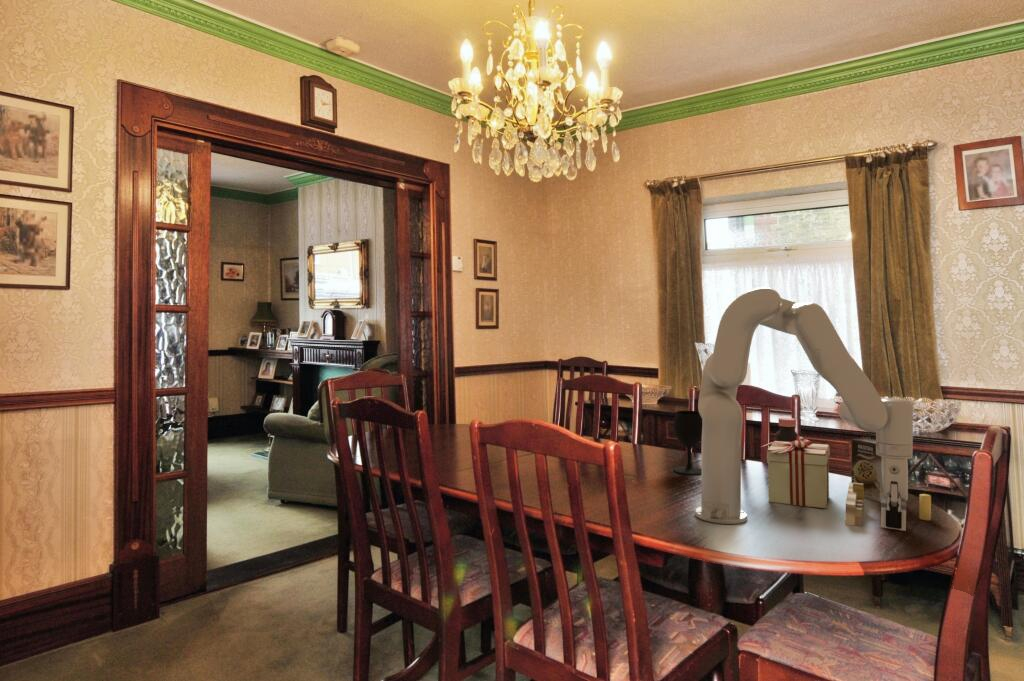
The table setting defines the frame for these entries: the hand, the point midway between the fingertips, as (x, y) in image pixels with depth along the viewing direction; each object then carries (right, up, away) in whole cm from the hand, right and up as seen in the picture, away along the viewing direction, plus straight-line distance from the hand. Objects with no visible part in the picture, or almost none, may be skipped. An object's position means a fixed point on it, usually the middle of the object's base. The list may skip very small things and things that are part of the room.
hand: (893, 523), depth 146 cm
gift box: (-13, -1, +23) cm, 27 cm away
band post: (+12, -1, +6) cm, 13 cm away
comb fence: (-4, -1, +12) cm, 12 cm away
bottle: (-7, 0, +42) cm, 42 cm away
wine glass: (-33, 0, +56) cm, 65 cm away
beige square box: (0, -1, 0) cm, 1 cm away
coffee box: (+10, -1, +25) cm, 27 cm away
